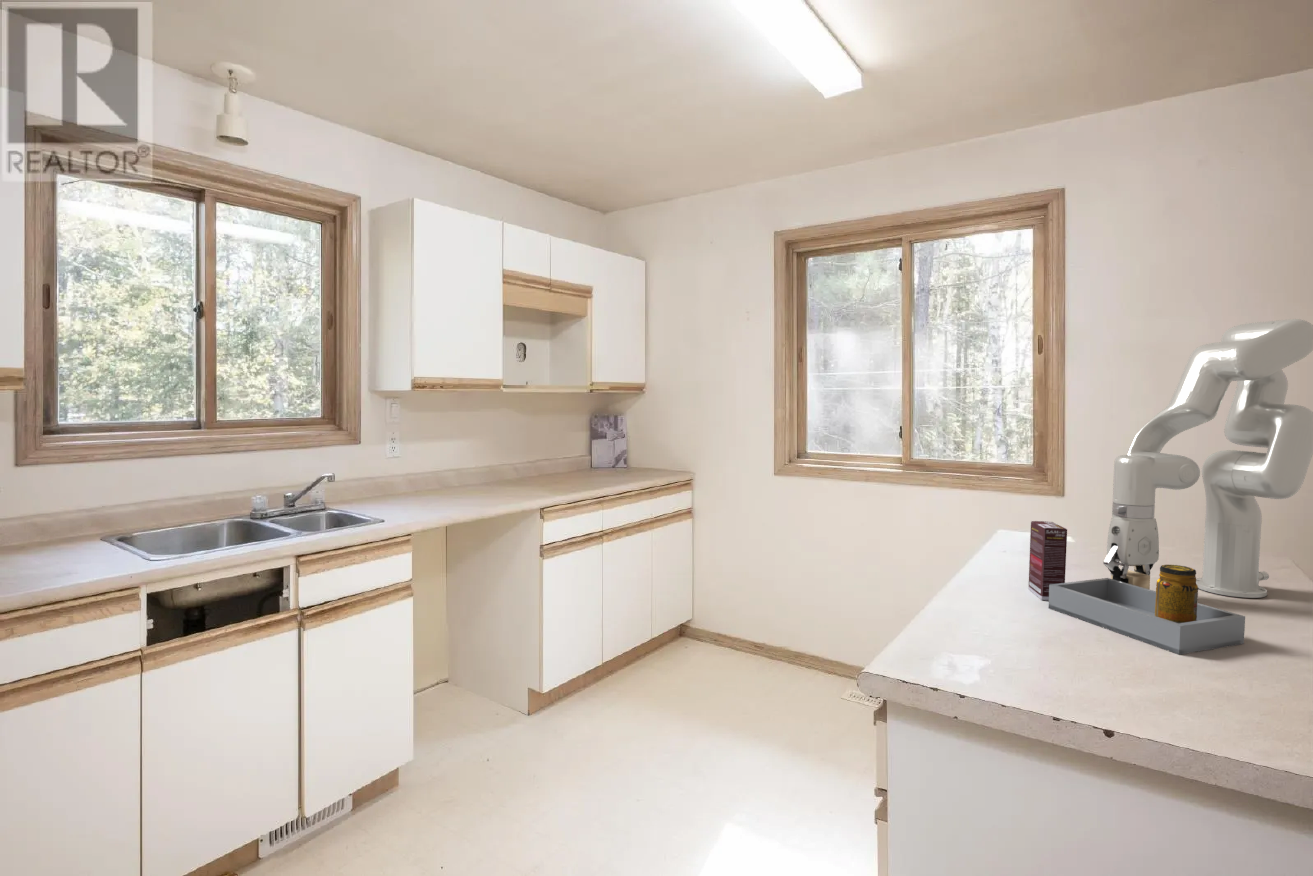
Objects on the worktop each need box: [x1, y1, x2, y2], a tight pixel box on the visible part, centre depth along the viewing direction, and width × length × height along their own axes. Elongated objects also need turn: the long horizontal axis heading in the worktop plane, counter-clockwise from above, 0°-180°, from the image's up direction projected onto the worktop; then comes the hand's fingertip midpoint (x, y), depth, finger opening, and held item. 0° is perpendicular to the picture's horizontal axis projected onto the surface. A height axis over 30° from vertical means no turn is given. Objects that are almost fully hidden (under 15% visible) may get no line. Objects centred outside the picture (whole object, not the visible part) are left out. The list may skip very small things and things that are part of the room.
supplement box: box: [1028, 520, 1068, 602], centre depth 147 cm, size 9×5×16 cm, turn 168°
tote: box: [1048, 577, 1246, 656], centre depth 128 cm, size 16×26×5 cm, turn 17°
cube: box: [1110, 569, 1151, 590], centre depth 146 cm, size 5×5×5 cm
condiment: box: [1155, 564, 1199, 623], centre depth 121 cm, size 7×8×12 cm
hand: (1129, 592), depth 147 cm, fingers closed on cube, 5 cm apart
